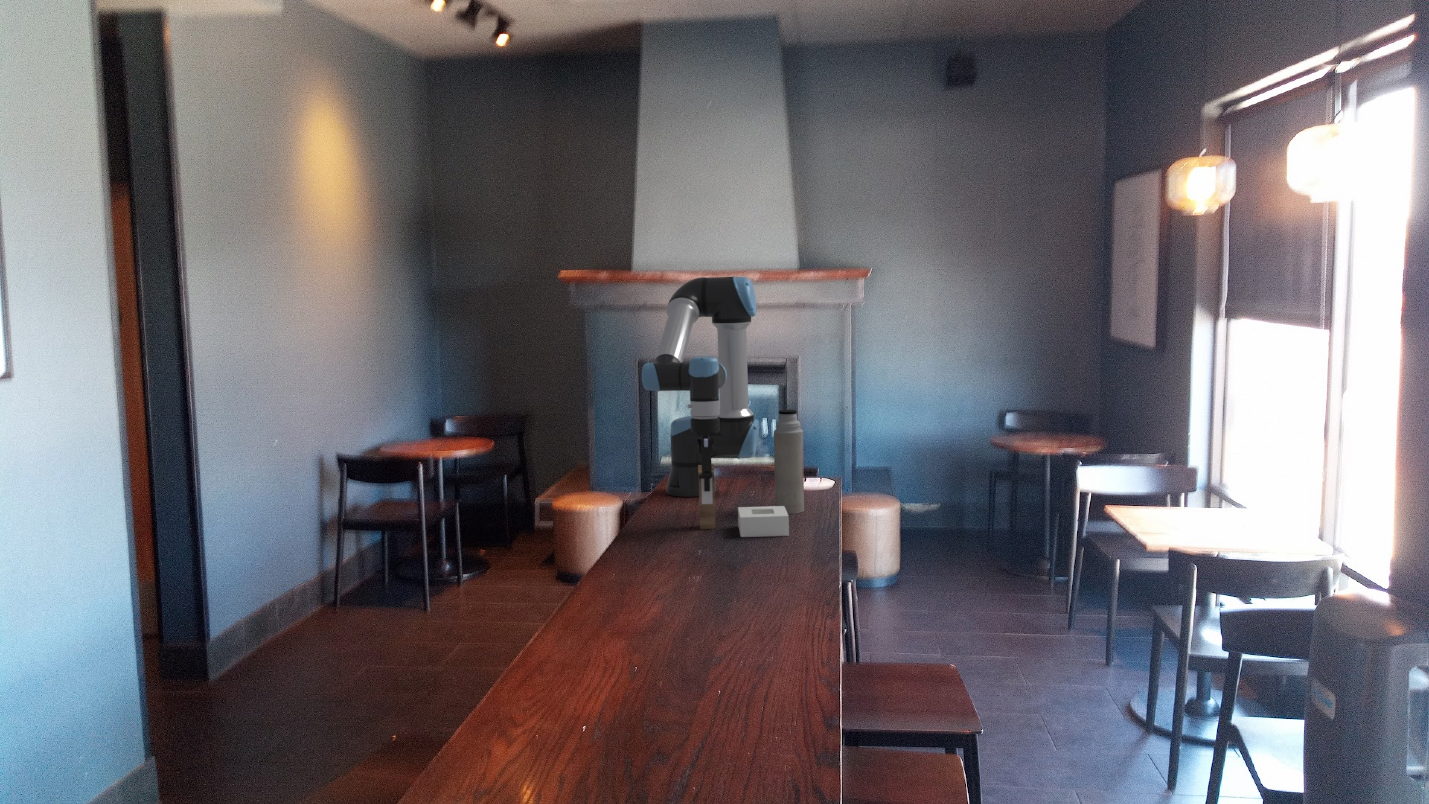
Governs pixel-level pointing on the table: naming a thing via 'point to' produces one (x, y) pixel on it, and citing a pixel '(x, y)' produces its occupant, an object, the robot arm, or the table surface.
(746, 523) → the socket block
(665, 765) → the table surface
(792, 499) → the thermos bottle
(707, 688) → the table surface
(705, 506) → the bronze peg
